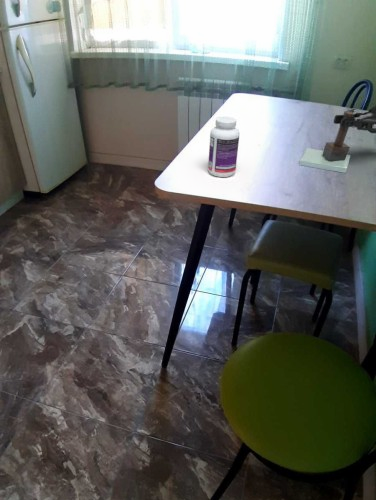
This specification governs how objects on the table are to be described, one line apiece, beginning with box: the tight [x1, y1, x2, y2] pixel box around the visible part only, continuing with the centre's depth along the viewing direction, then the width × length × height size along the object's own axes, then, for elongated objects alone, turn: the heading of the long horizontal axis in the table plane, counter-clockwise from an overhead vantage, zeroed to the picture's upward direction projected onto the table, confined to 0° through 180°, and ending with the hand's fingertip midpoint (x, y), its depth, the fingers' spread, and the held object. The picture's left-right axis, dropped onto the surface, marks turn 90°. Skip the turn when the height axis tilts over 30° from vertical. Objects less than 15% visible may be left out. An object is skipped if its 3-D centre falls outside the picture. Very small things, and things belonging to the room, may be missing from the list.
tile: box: [299, 147, 351, 174], centre depth 129 cm, size 14×12×2 cm
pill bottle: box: [207, 116, 240, 178], centre depth 115 cm, size 8×8×14 cm
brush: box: [322, 110, 354, 161], centre depth 123 cm, size 6×4×13 cm, turn 110°
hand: (338, 121), depth 119 cm, fingers closed on brush, 2 cm apart
